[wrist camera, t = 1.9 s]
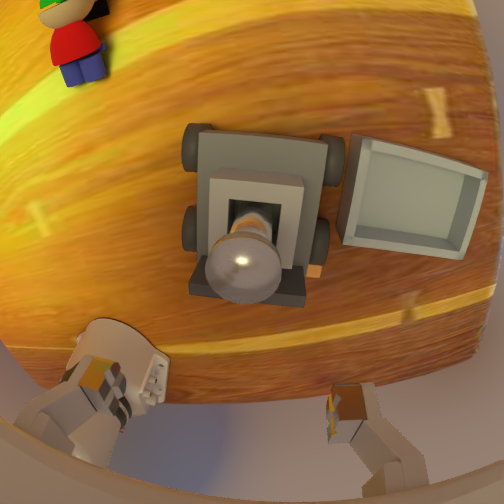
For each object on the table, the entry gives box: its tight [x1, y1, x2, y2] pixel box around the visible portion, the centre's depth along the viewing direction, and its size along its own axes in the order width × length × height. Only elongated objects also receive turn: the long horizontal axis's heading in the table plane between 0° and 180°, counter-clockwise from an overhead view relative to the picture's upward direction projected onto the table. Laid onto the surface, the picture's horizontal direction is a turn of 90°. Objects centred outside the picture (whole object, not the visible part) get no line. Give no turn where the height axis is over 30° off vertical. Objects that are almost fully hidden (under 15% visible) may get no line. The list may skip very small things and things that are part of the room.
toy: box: [38, 0, 110, 87], centre depth 21 cm, size 8×8×15 cm
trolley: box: [182, 123, 345, 308], centre depth 28 cm, size 16×15×12 cm
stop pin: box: [205, 200, 282, 304], centre depth 22 cm, size 4×4×11 cm
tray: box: [336, 133, 489, 260], centre depth 29 cm, size 11×16×4 cm
